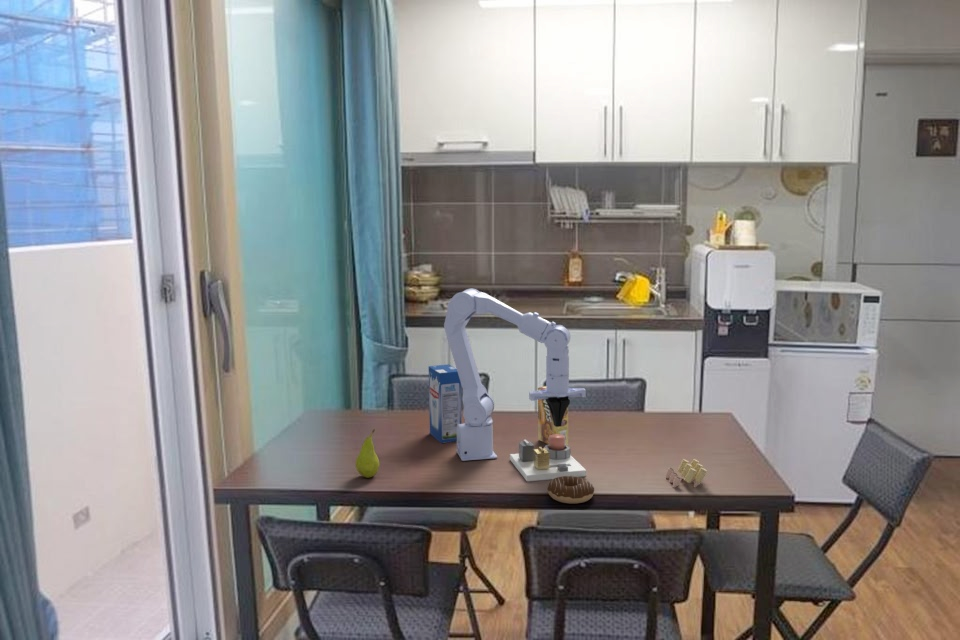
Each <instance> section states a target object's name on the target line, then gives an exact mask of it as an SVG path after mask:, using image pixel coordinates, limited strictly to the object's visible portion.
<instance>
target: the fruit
mask: <svg viewBox="0 0 960 640" xmlns="http://www.w3.org/2000/svg"><path fill="white" fill-rule="evenodd" d="M371 431H372V432H371V434H370V436H367V437H366V438H365V439H364V440H363V444H362V445H361V448H360V450H359V453H358V455H357V456H356V460H355V465H354V466H355V468H356V472H357V473H359V474H360V475H361V476H362V477H363V478H367V479H369V478H372V477H373V476H375V475H376V474H377V473H378V471H379V468H380V460H379V457H378V455H377V453H376V452H375V446H374V443H373V439H372V438H373V434H374V432H375V431H376V429H375V428H373V430H371Z"/></svg>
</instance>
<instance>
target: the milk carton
mask: <svg viewBox="0 0 960 640" xmlns="http://www.w3.org/2000/svg"><path fill="white" fill-rule="evenodd" d="M427 368H428V400H429V403H428V404H429V405H428V406H429V409H428V410H429V434H430V435H431V436H432V437H433V438H435V439H436V440H437V441H438V443H440V444H443V443H452V442H457V425H458V424H462V385H461V382H460V378H459V375H458V372H457V368H456V367H454V366H453V365H451V364H449V363H447V364H441V365H440V364H438V365H428V367H427Z"/></svg>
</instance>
